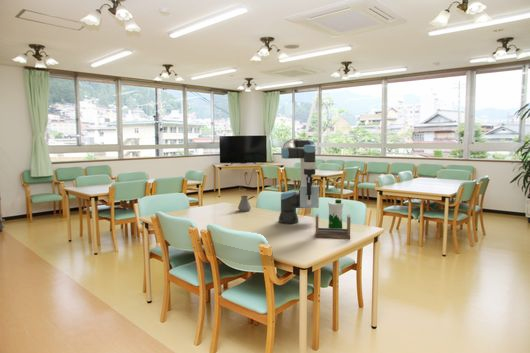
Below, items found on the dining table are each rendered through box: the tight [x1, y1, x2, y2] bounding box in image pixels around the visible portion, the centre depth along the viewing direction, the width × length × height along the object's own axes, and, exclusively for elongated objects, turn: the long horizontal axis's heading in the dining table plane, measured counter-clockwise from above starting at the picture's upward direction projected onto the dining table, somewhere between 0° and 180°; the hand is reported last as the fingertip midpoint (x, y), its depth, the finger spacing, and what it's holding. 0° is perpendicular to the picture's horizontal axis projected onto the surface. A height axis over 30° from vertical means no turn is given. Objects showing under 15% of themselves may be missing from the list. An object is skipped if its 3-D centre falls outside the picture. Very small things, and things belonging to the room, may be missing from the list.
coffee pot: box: [237, 195, 256, 213], centre depth 315 cm, size 21×12×15 cm, turn 37°
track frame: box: [314, 213, 351, 240], centre depth 239 cm, size 12×22×14 cm, turn 80°
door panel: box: [299, 185, 320, 209], centre depth 239 cm, size 3×12×14 cm, turn 78°
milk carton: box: [328, 199, 344, 229], centre depth 258 cm, size 9×9×20 cm
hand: (309, 204), depth 239 cm, fingers closed on door panel, 3 cm apart
